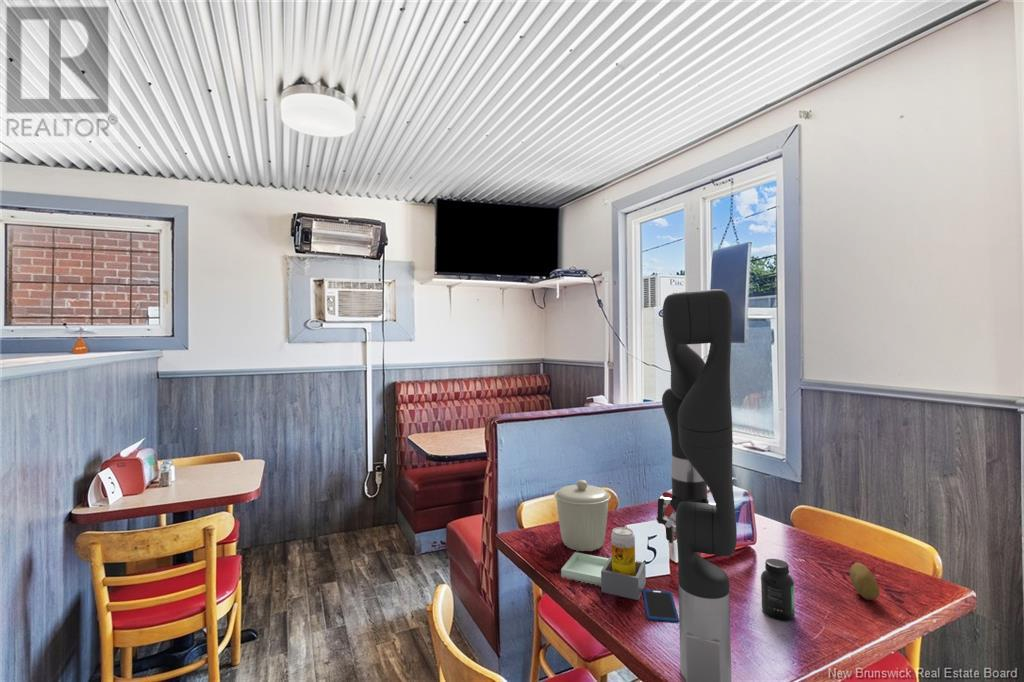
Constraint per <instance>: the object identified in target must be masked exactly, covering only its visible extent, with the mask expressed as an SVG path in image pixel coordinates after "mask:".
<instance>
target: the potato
mask: <svg viewBox="0 0 1024 682" xmlns="http://www.w3.org/2000/svg"><path fill="white" fill-rule="evenodd" d="M849 577H850V582H851V584H852V586H853V588H854V590H855V591H856V592H857V593H858V594H859V595H860V596H862V598H864V599H865V600H868V601H869V600H872V601H873V600H876V599H878V598H879V597H880V593H881V592H880V587H879V584H878V582H877V580H876V579H875V576H874V574H872V572H871V571H870V569H869V568H868V567H867V566H865V565H864V564H863V563H861V562H855V563H854V564H852V565H851V566H850V570H849Z"/></svg>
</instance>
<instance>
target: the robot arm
mask: <svg viewBox="0 0 1024 682" xmlns="http://www.w3.org/2000/svg"><path fill="white" fill-rule="evenodd" d="M731 303H732V302H731V299H730V296H729V294H728V292H727V290H724V289H721V288H720V289H719V288H718V289H717V288H715V289H706V290H693V291H692V290H691V291H690V290H689V291H682V292H681V291H680V292H675V293H670V294H669V295H667V296H666V297H665V299H664V300H663V305H662V327H663V335H664V340H665V348H666V352H667V357H668V362H669V364H670V365H669V366H670V387H669V388H667V389H665V390H664V392H663V394H662V397H661V405H662V409H663V411H664V415H665V417H666V420H667V424H668V427H669V431H670V437H671V438H670V439H671V463H670V465H671V466H670V468H671V471H670V472H671V497H665V495H663V494H661V495H659V497H658V500H657V517H656V518H657V519H656V521H657V522H656V523H658V524H660V525H661V524H662V525H664V527H665V539H666V541H668V543H669V544H673V543H674V523H675V535H676V544H677V545H676V546H677V564H678V567H677V568H678V569H677V571H678V575H677V576H678V579H677V580H678V617H679V622H678V624H679V626H678V627H679V661H680V662H679V665H680V666H679V667H680V674H681V677H682V678H683V679H684V680H685V682H732V656H731V655H732V650H731V647H732V645H731V642H732V641H731V605H730V604H731V602H730V601H731V599H730V598H731V597H730V596H731V595H730V593H731V592H730V580H729V575H728V574H727V572H725V570H723V569H722V568H721V567H719V566H718V565H715V564H714V563H712V562H710V561H708V560H706V558H703V556H701V555H700V554H704V555H705V554H706V555H712V556H719V557H720V556H721V557H730V556H732V555H733V554H734V553H735V551H736V547H737V537H738V535H737V530H738V529H737V520H736V519H737V518H736V517H737V516H736V507H735V498H734V497H735V496H734V486H733V484H734V483H733V443H734V442H733V441H734V439H733V412H732V399H731V398H732V397H731V396H732V395H731V352H732V333H733V331H732V330H733V329H732V326H733V313H732V311H733V310H732V309H733V308H732V304H731ZM701 344H709V350H708V354H707V358H706V361H704V359H703V358H702V356H700V355H699V354H698V353H697V352H696V351H695V350H694V349H692V348H691V346H689V345H701ZM708 490H709V492H710V494H711V496H712V498H713V501H714V503H711V502H709V500H708ZM669 504H670V506H671V508H672V509H673V512H672V513H671V514H670V516H669V517H666V516H665V508H667V507H668V505H669Z"/></svg>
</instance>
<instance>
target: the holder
mask: <svg viewBox="0 0 1024 682" xmlns="http://www.w3.org/2000/svg"><path fill="white" fill-rule="evenodd" d="M608 558H609V559H608V561H607V562H606V564H605V566H604V567H603V569H602V570H601V586H600V587H601V588H600V589H601V593H603V592H605V593H604V594H608V593H609V595H612V594H614V596H617V595H618V597H622V598H626V599H632V600H636V601H639V600H640V598H641V595H642V594H643V589H645V586H646V584H647V578H646V574H647V573H646V562H645V561H638V560H635V561H636V562H635V575H636V576H631V575H626V574H621V573H616V572H612V555H610V556H609V557H608Z"/></svg>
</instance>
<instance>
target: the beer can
mask: <svg viewBox="0 0 1024 682" xmlns="http://www.w3.org/2000/svg"><path fill="white" fill-rule="evenodd" d="M610 538H611V539H610V540H611V541H610V544H611V556H612V572H616V573H621V574H626V575H631V576H636V575H635V561H636V540H635V533H634V530H633V529H631V528H628V527H622V526H619V527H614V528H613V529H612V531H611V537H610Z"/></svg>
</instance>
